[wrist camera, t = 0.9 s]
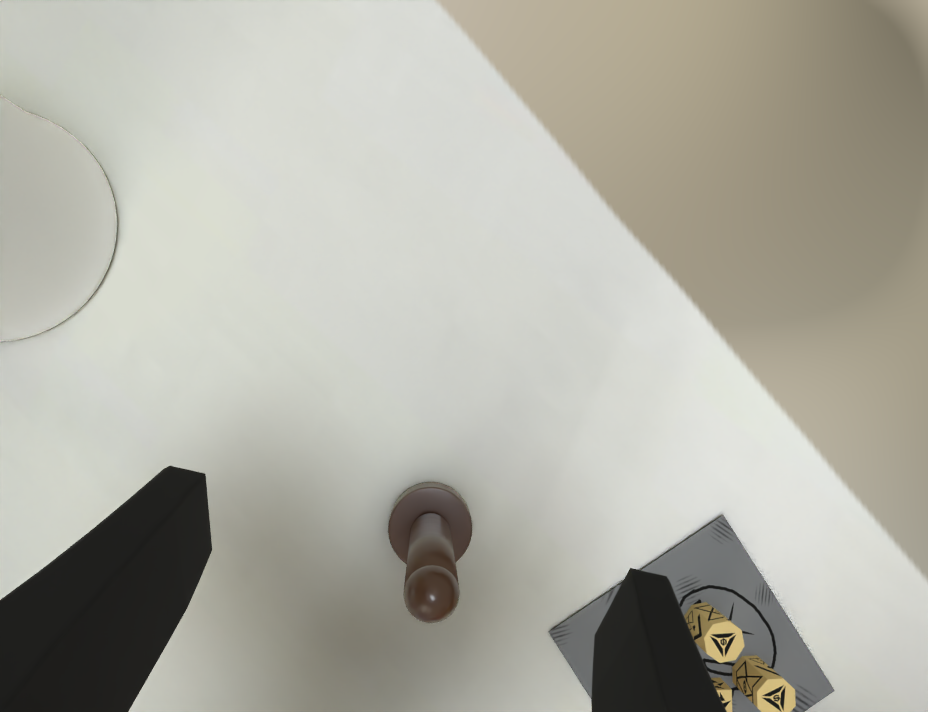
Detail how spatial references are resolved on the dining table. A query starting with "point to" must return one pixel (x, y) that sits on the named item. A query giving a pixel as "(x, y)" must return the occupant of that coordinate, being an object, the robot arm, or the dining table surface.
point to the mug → (49, 224)
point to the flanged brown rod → (430, 547)
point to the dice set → (720, 627)
